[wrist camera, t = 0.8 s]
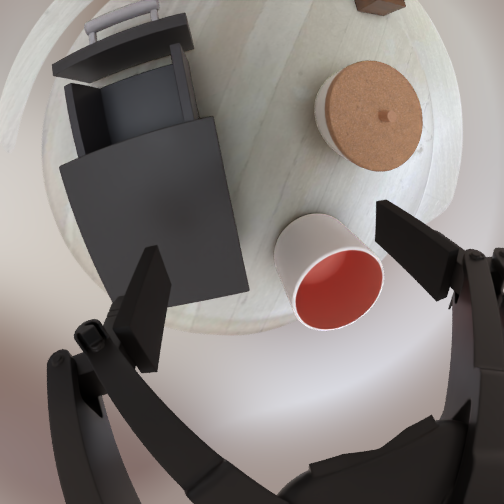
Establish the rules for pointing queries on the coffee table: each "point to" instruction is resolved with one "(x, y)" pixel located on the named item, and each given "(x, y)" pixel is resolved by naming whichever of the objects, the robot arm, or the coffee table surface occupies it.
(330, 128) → the trinket box
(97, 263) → the dark drawer box
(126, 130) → the pull-out drawer
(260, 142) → the coffee table surface
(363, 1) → the block
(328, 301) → the cup
